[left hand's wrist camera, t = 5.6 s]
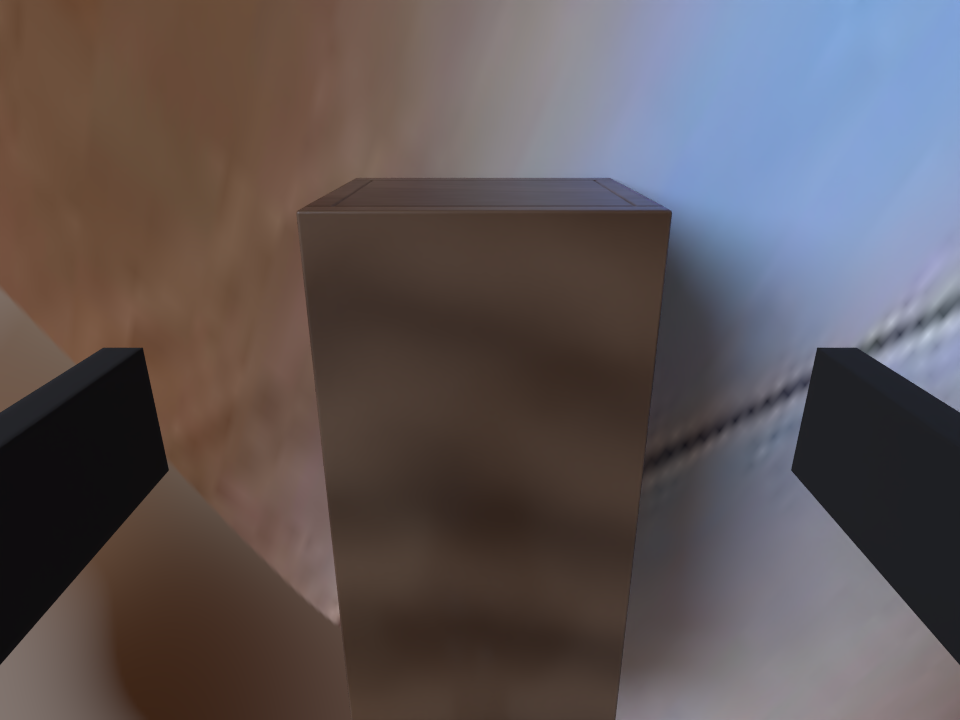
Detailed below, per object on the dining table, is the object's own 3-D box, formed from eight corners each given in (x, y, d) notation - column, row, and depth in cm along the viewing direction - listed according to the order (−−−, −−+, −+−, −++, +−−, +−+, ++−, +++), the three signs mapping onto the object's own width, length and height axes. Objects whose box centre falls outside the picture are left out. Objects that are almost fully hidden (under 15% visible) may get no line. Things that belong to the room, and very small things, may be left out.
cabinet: (580, 586, 32) (613, 742, 24) (384, 586, 32) (352, 742, 24) (611, 177, 25) (673, 210, 17) (354, 177, 25) (295, 210, 17)
